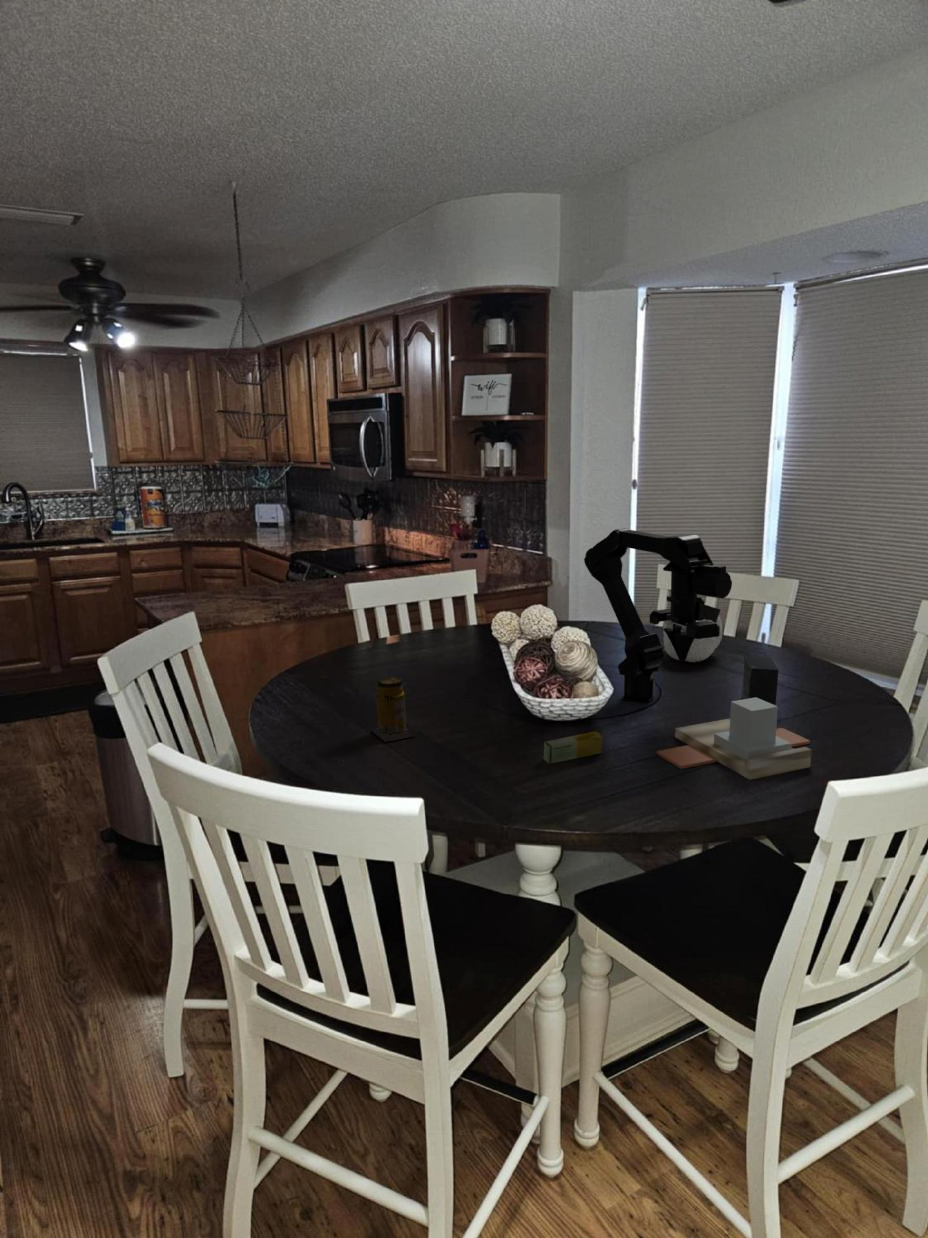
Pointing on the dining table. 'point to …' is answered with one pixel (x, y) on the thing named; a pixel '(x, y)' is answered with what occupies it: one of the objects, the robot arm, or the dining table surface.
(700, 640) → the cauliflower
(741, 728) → the stepped block
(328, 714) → the dining table surface
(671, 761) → the pad
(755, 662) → the small box
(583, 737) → the medication box
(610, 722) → the dining table surface
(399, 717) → the condiment
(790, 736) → the pad
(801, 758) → the birch board
